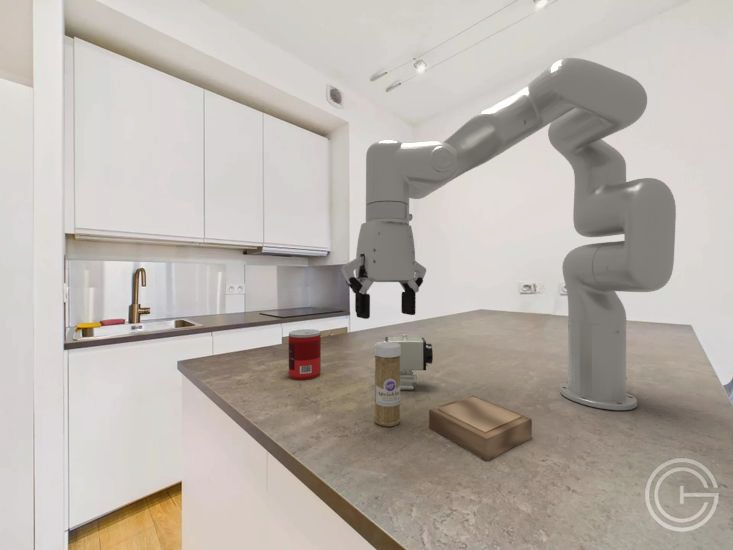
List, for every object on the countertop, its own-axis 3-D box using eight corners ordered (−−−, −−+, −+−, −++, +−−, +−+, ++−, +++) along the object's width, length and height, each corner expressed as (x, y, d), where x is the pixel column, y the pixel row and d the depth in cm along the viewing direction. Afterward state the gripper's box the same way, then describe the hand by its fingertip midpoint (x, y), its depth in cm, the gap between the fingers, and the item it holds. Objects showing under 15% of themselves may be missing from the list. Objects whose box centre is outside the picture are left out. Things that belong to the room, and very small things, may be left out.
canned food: (326, 373, 79) (326, 330, 79) (304, 382, 72) (304, 336, 72) (304, 368, 83) (304, 328, 83) (282, 377, 76) (282, 332, 76)
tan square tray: (472, 411, 57) (472, 394, 57) (531, 438, 48) (531, 417, 48) (429, 427, 51) (429, 407, 51) (486, 461, 42) (486, 437, 42)
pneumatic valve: (432, 392, 66) (432, 336, 66) (378, 391, 67) (378, 335, 67) (429, 383, 72) (429, 332, 72) (379, 382, 73) (379, 331, 73)
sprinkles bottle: (381, 430, 50) (381, 347, 50) (369, 418, 54) (369, 342, 54) (405, 424, 52) (405, 344, 52) (392, 413, 56) (392, 339, 56)
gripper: (411, 224, 61) (410, 311, 61) (332, 215, 52) (331, 316, 52) (439, 219, 55) (438, 315, 55) (355, 206, 46) (354, 322, 45)
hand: (386, 315), depth 53 cm, fingers open, 9 cm apart
